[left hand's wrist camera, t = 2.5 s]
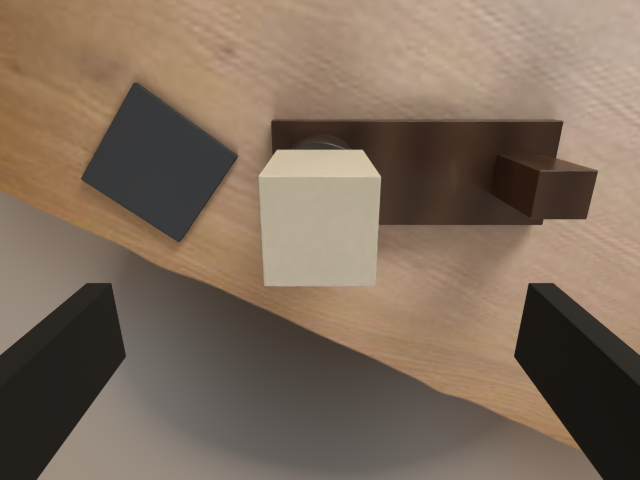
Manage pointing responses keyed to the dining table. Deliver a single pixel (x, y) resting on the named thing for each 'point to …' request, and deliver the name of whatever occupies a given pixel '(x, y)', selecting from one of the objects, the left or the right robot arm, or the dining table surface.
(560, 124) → the stand
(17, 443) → the left robot arm
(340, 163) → the cream rectangular block
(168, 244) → the dining table surface
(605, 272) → the dining table surface
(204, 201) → the coaster
